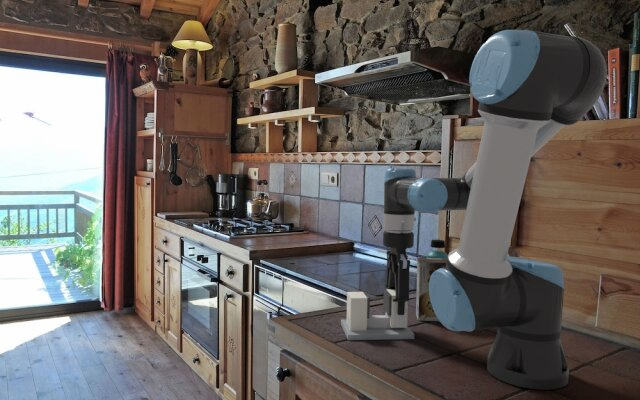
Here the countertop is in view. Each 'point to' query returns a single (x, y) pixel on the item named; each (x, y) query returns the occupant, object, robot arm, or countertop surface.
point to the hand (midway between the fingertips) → (395, 322)
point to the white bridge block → (392, 306)
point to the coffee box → (426, 287)
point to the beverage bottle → (435, 252)
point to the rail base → (377, 333)
